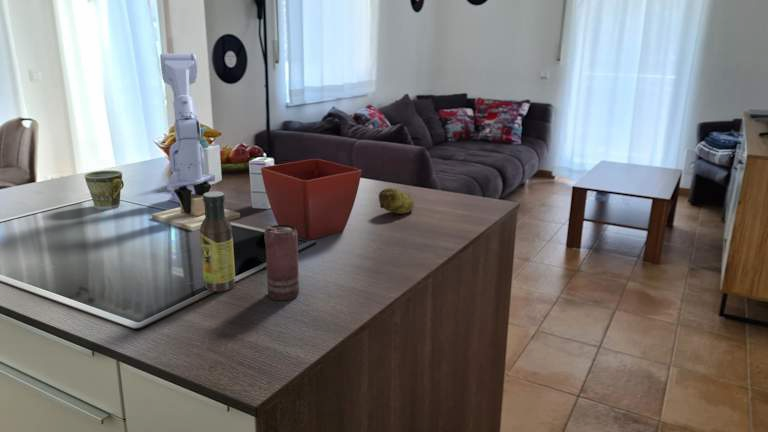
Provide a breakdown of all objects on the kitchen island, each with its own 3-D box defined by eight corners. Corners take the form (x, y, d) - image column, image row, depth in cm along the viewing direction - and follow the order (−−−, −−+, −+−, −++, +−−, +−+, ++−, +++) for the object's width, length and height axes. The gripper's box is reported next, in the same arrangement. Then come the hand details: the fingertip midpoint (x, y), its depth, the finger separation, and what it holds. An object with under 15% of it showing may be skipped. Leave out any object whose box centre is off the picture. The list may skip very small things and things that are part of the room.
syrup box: (269, 209, 174) (267, 161, 169) (251, 208, 175) (248, 160, 171) (276, 204, 179) (274, 157, 175) (258, 203, 180) (256, 156, 176)
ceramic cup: (81, 208, 172) (76, 175, 169) (110, 200, 180) (106, 168, 177) (111, 215, 166) (107, 180, 163) (140, 206, 174) (136, 173, 172)
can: (268, 289, 119) (265, 223, 115) (299, 288, 120) (297, 223, 116) (265, 302, 113) (261, 233, 109) (298, 301, 114) (296, 233, 110)
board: (152, 218, 163) (151, 214, 163) (199, 206, 176) (199, 202, 176) (192, 231, 153) (192, 226, 153) (240, 217, 166) (239, 212, 166)
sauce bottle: (202, 283, 121) (194, 190, 116) (233, 279, 124) (227, 187, 118) (206, 295, 116) (198, 198, 110) (238, 290, 118) (232, 195, 112)
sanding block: (180, 212, 165) (179, 195, 164) (192, 209, 168) (191, 192, 167) (196, 217, 161) (195, 199, 160) (208, 213, 164) (207, 196, 163)
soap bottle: (222, 180, 207) (218, 126, 202) (209, 186, 199) (205, 130, 194) (200, 178, 209) (196, 125, 204) (187, 184, 201) (182, 129, 195)
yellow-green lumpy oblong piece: (423, 214, 172) (424, 187, 169) (385, 219, 165) (386, 192, 163) (408, 207, 178) (409, 181, 176) (371, 212, 172) (371, 186, 170)
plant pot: (363, 230, 156) (363, 169, 151) (306, 247, 143) (304, 180, 138) (317, 215, 169) (316, 158, 164) (261, 229, 156) (258, 167, 151)
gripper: (176, 169, 153) (181, 219, 157) (220, 160, 164) (224, 207, 168) (160, 165, 157) (165, 214, 161) (204, 157, 168) (208, 203, 172)
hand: (194, 210), depth 165 cm, fingers closed on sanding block, 4 cm apart
